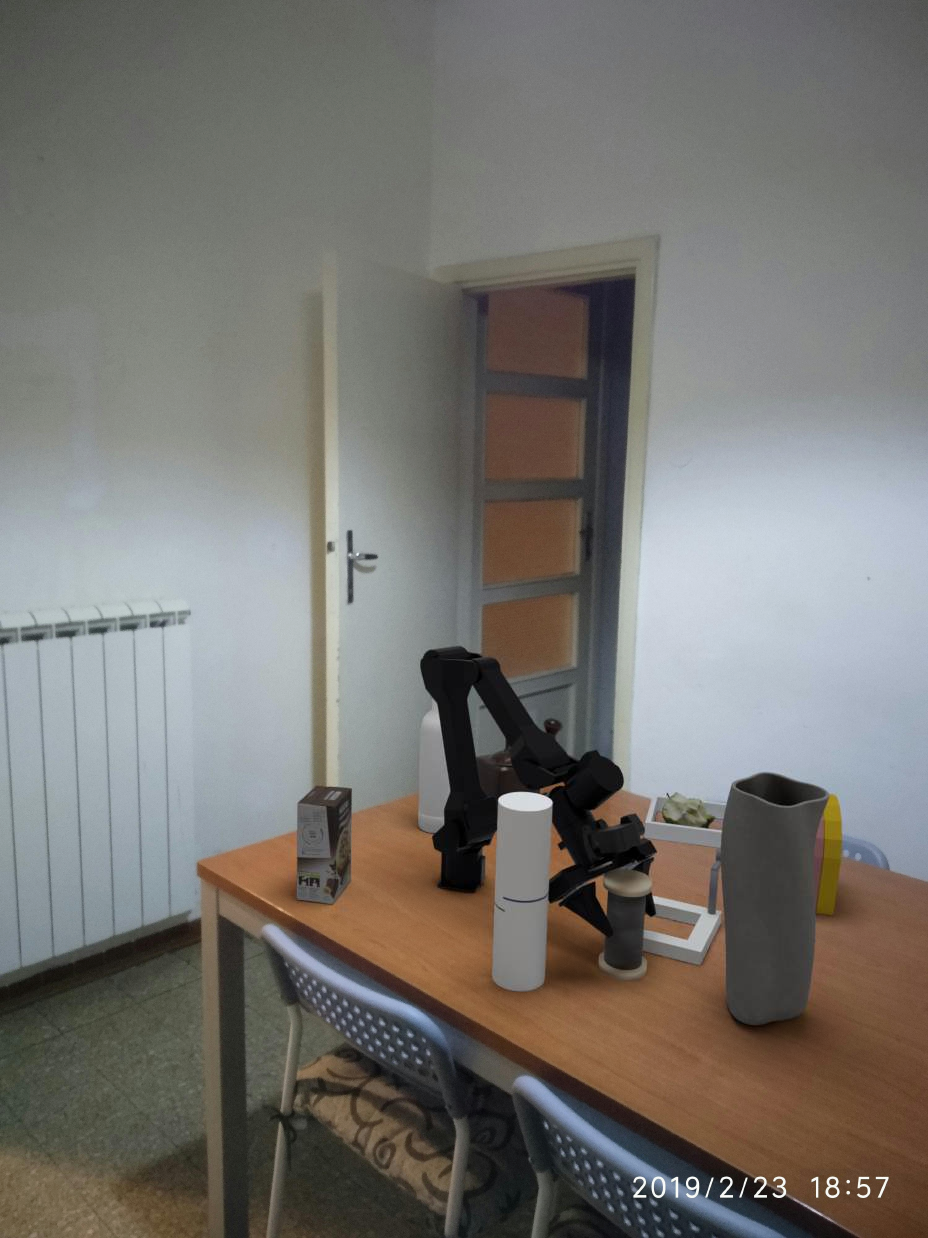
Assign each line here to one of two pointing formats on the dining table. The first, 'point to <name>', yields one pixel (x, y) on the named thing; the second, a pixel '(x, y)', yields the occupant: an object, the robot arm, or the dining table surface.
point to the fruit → (686, 812)
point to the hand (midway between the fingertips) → (633, 926)
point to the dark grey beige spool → (625, 924)
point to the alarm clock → (827, 857)
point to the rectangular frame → (691, 914)
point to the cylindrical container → (521, 890)
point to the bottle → (432, 773)
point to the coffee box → (324, 843)
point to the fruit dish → (683, 832)
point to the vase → (769, 895)
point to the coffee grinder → (506, 768)
